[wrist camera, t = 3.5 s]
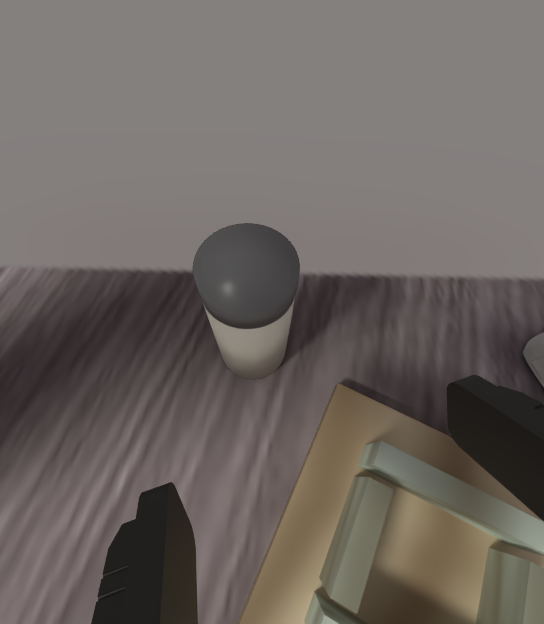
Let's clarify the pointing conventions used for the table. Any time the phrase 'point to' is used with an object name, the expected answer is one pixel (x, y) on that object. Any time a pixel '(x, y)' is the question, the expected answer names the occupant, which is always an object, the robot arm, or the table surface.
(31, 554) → the table surface
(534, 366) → the photo printer
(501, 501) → the holder
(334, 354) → the table surface
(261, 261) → the grey and white cylinder
